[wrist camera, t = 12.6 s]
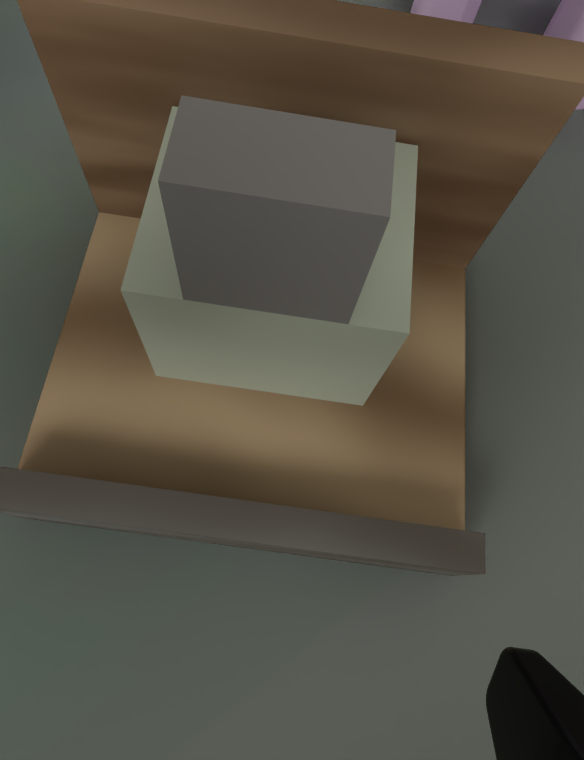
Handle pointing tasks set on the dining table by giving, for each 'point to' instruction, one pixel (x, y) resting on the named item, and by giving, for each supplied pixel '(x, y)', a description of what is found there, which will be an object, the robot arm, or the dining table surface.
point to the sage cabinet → (275, 252)
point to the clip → (461, 3)
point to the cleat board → (258, 408)
